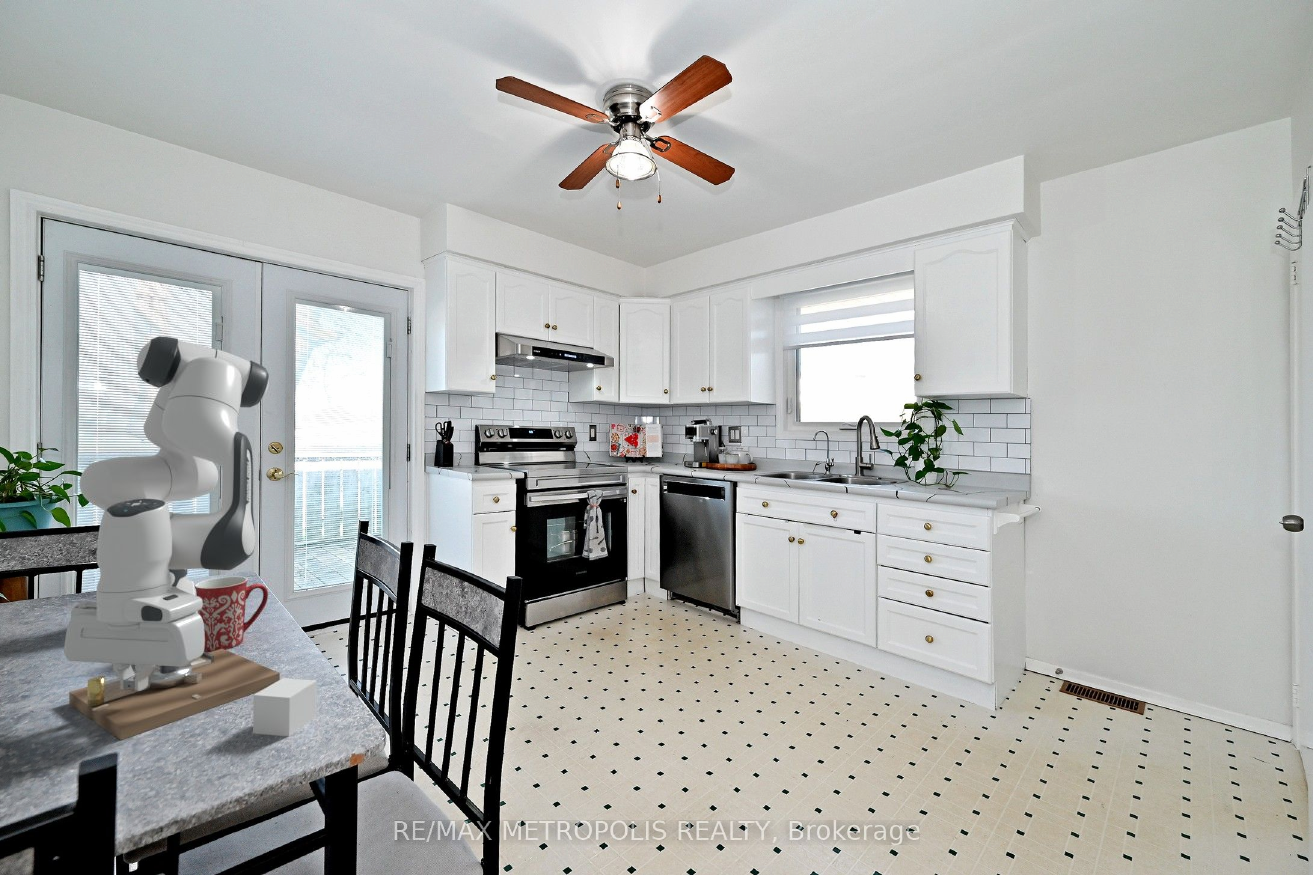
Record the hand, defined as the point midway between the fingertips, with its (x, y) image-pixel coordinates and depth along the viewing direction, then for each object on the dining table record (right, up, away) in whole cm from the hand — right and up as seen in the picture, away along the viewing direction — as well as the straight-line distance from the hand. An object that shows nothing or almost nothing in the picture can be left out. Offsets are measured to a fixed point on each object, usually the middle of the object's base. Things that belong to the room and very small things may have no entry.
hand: (134, 689), depth 91 cm
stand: (0, -4, +8) cm, 9 cm away
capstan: (-3, -2, +4) cm, 6 cm away
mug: (-7, -4, +31) cm, 32 cm away
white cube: (+25, -5, -1) cm, 26 cm away
